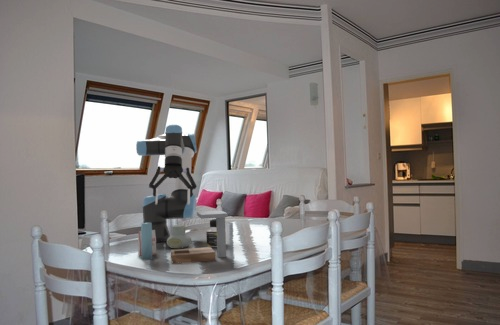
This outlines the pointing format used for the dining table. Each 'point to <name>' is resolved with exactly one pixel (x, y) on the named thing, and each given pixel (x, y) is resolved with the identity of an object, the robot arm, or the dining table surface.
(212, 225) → the medicine bottle
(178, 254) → the socket board
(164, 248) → the dining table surface
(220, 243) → the grey angled stand
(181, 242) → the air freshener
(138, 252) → the tea box
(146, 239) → the peg
